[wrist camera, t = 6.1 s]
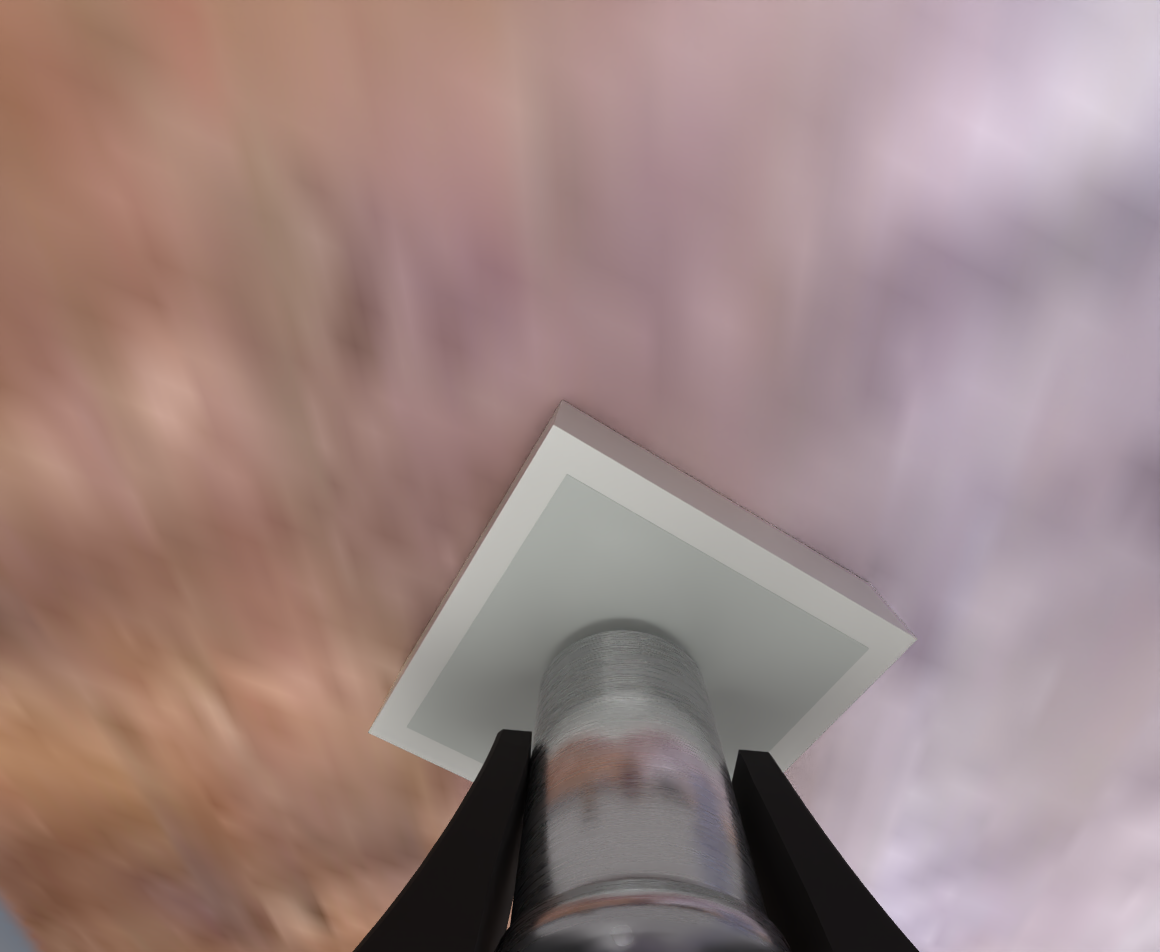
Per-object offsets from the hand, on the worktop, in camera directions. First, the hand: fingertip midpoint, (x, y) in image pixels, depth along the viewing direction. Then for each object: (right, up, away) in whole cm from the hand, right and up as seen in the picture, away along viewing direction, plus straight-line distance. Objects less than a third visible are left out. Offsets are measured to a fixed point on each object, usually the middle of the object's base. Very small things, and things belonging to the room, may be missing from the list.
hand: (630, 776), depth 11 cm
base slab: (0, +2, +5) cm, 5 cm away
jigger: (0, +1, +2) cm, 2 cm away
